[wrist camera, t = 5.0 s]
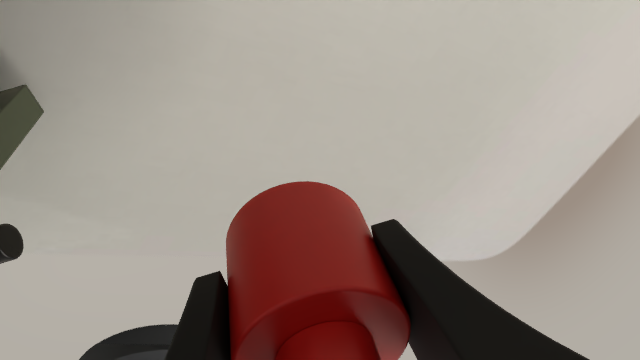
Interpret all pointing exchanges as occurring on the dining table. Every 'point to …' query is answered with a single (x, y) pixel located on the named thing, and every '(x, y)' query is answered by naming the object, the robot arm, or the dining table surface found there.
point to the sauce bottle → (310, 280)
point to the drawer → (3, 138)
